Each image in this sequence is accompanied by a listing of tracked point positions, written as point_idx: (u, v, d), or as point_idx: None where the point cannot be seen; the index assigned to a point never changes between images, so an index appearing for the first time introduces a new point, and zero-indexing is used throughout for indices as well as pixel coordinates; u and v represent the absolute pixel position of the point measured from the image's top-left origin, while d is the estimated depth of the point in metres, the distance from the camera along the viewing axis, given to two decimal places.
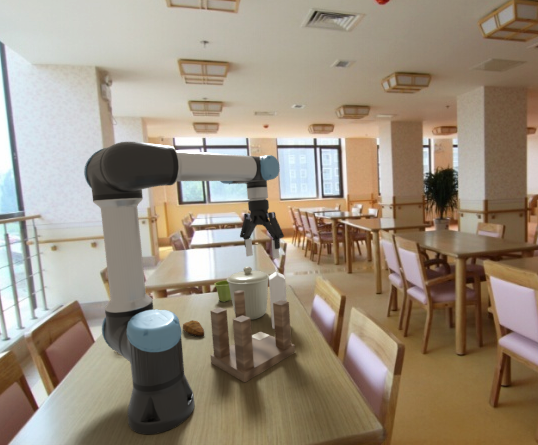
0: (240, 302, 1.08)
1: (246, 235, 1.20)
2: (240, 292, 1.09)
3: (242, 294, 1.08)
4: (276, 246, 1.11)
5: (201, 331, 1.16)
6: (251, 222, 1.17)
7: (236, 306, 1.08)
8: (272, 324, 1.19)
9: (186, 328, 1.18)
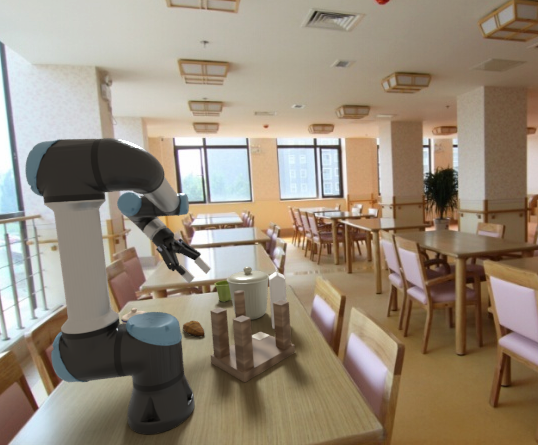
0: (240, 302, 1.08)
1: (177, 260, 1.08)
2: (240, 292, 1.09)
3: (242, 294, 1.08)
4: (203, 261, 1.20)
5: (201, 331, 1.16)
6: (173, 247, 1.11)
7: (236, 306, 1.08)
8: (272, 324, 1.19)
9: (186, 328, 1.18)
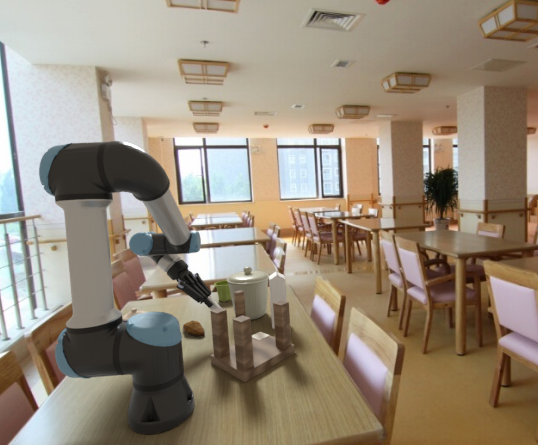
0: (240, 302, 1.08)
1: (203, 293, 1.13)
2: (240, 292, 1.09)
3: (242, 294, 1.08)
4: None
5: (201, 331, 1.16)
6: (191, 280, 1.13)
7: (236, 306, 1.08)
8: (272, 324, 1.19)
9: (186, 328, 1.18)
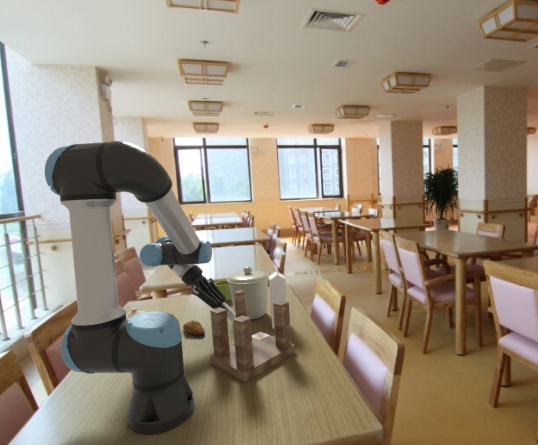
0: (240, 302, 1.08)
1: (218, 299, 1.11)
2: (240, 292, 1.09)
3: (243, 294, 1.08)
4: None
5: (202, 331, 1.16)
6: (206, 286, 1.12)
7: (236, 306, 1.08)
8: (272, 324, 1.19)
9: (186, 328, 1.18)
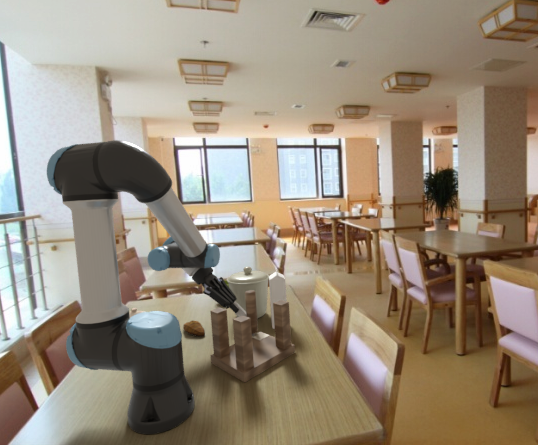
0: (249, 302, 1.07)
1: (229, 298, 1.11)
2: (250, 292, 1.08)
3: (252, 295, 1.07)
4: None
5: (202, 331, 1.16)
6: (217, 285, 1.11)
7: (246, 305, 1.08)
8: (272, 324, 1.19)
9: (186, 328, 1.18)
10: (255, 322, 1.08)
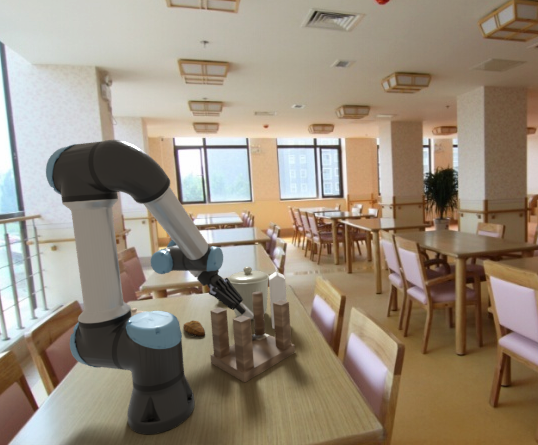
0: (254, 303, 1.06)
1: (235, 299, 1.09)
2: (257, 293, 1.06)
3: (257, 296, 1.05)
4: (245, 306, 1.11)
5: (202, 331, 1.16)
6: (222, 285, 1.09)
7: (253, 306, 1.07)
8: (272, 324, 1.19)
9: (186, 328, 1.18)
10: (261, 324, 1.06)
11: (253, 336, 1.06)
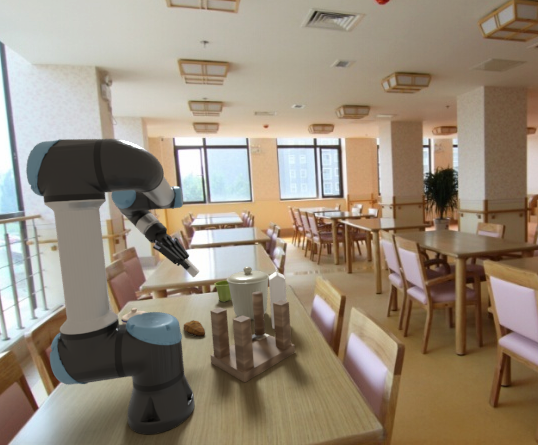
0: (254, 303, 1.06)
1: (180, 255, 1.12)
2: (257, 293, 1.06)
3: (257, 296, 1.05)
4: None
5: (202, 331, 1.16)
6: (168, 242, 1.13)
7: (253, 306, 1.07)
8: (272, 324, 1.19)
9: (186, 328, 1.18)
10: (261, 324, 1.06)
11: (253, 336, 1.06)
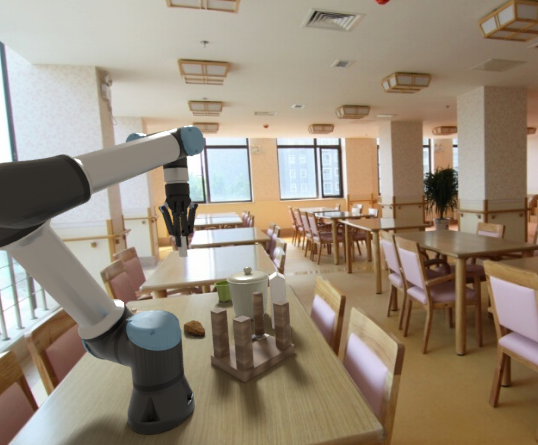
0: (254, 303, 1.06)
1: (180, 230, 0.99)
2: (257, 293, 1.06)
3: (257, 296, 1.05)
4: (187, 242, 1.02)
5: (202, 331, 1.16)
6: (178, 210, 0.98)
7: (253, 306, 1.07)
8: (272, 324, 1.19)
9: (187, 327, 1.18)
10: (261, 324, 1.06)
11: (253, 336, 1.06)
